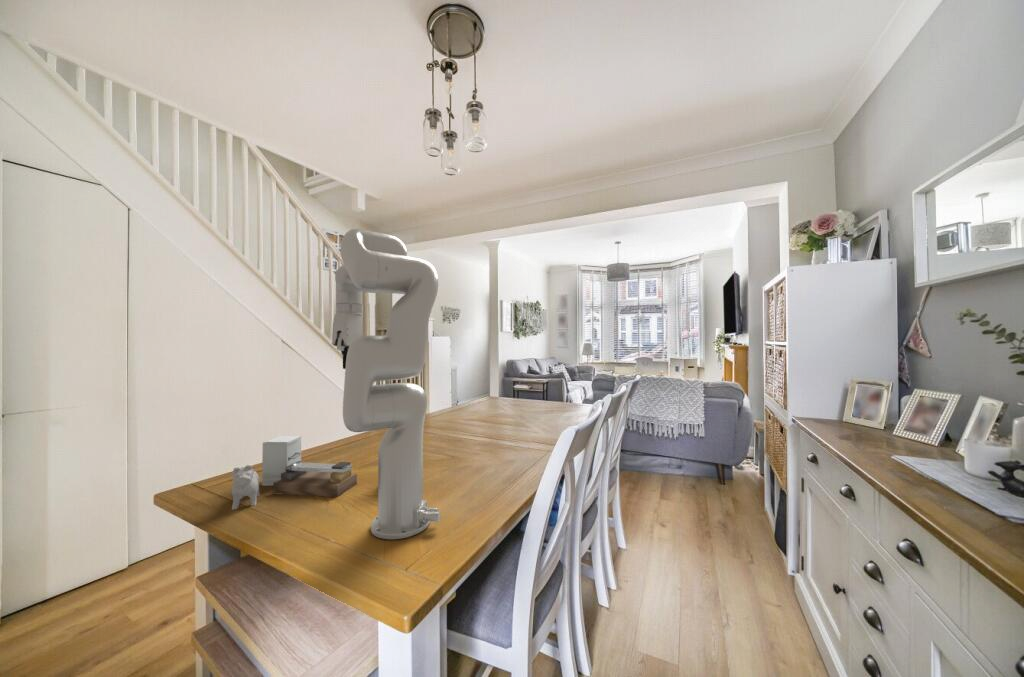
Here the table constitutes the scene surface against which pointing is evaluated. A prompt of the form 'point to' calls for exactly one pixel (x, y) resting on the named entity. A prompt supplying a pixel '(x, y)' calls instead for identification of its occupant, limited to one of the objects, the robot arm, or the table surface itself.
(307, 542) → the table surface
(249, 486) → the dog figurine
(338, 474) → the mount block
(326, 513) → the table surface
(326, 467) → the grey flat bar
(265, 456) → the supplement box
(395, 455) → the robot arm
